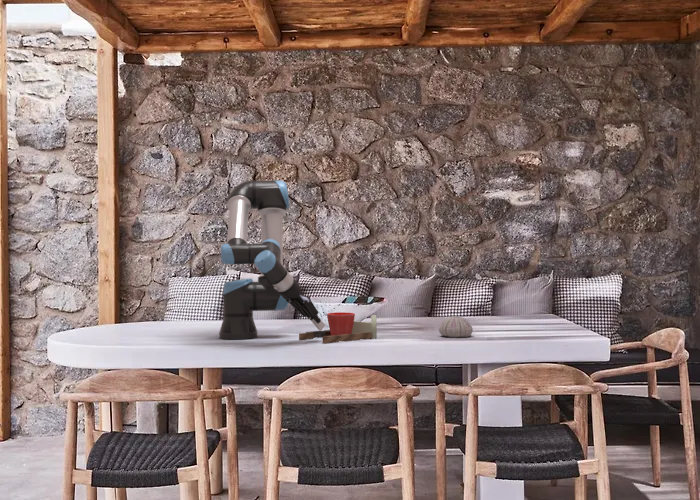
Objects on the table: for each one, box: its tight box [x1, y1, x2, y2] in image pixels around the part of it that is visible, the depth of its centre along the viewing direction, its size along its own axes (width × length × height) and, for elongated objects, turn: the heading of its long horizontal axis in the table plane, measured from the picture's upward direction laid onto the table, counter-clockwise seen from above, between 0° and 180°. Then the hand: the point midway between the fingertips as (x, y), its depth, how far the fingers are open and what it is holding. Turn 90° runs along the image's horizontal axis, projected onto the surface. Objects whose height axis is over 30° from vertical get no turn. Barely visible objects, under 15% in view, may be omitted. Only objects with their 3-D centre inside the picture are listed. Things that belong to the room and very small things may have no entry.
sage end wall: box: [352, 314, 378, 339], centre depth 314 cm, size 2×18×9 cm, turn 39°
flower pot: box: [326, 311, 356, 336], centre depth 311 cm, size 11×11×10 cm
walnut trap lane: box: [298, 329, 372, 345], centre depth 308 cm, size 25×19×2 cm
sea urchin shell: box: [438, 315, 474, 339], centre depth 312 cm, size 13×14×8 cm
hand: (322, 327), depth 303 cm, fingers closed
